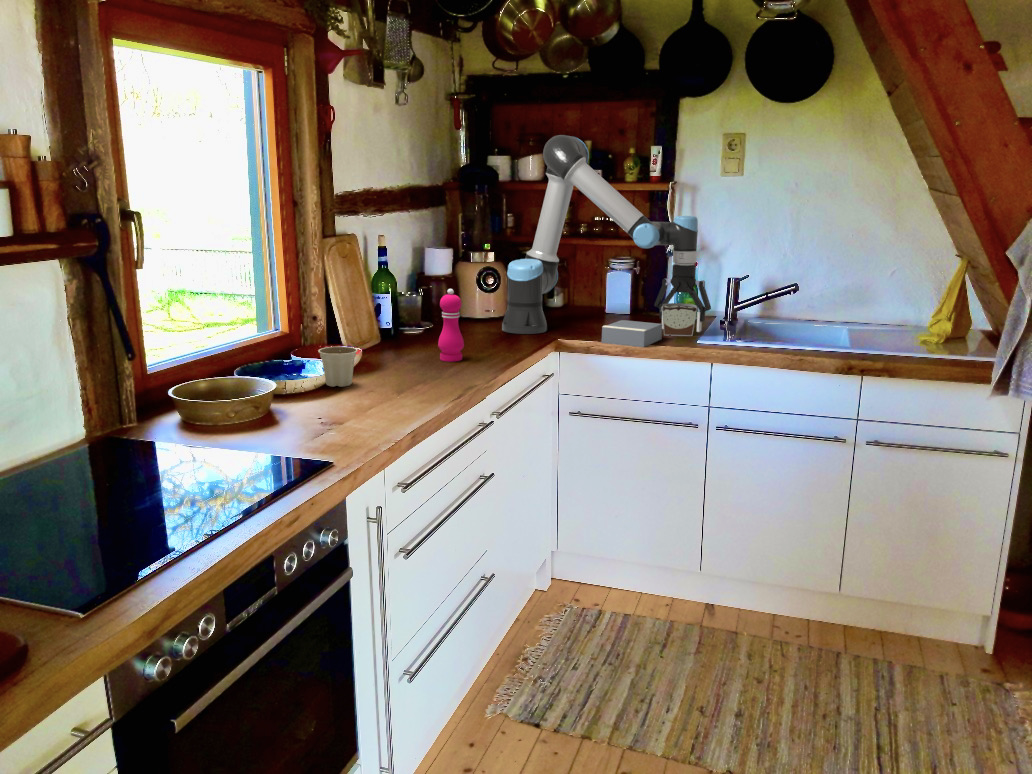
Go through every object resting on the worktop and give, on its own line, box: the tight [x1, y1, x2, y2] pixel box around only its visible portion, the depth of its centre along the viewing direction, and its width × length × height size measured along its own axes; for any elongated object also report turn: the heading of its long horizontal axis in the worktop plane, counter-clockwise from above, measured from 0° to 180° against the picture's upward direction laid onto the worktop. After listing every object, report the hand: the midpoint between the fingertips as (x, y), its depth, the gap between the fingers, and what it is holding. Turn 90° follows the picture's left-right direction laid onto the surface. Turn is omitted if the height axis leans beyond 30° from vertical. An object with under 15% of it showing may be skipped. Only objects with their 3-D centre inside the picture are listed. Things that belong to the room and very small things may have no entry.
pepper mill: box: [437, 288, 465, 363], centre depth 232 cm, size 7×7×20 cm
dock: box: [601, 319, 663, 348], centre depth 264 cm, size 14×16×5 cm
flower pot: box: [317, 346, 358, 388], centre depth 204 cm, size 9×9×9 cm
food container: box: [661, 302, 700, 337], centre depth 276 cm, size 12×6×10 cm, turn 86°
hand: (681, 329), depth 277 cm, fingers closed on food container, 11 cm apart
